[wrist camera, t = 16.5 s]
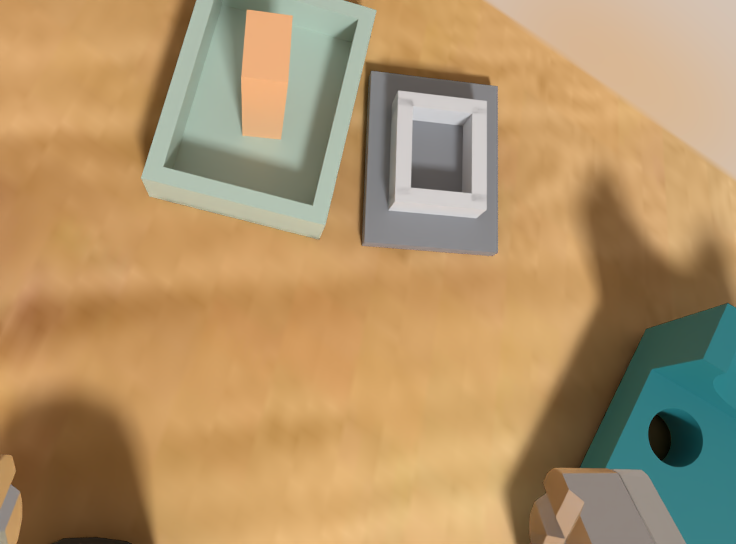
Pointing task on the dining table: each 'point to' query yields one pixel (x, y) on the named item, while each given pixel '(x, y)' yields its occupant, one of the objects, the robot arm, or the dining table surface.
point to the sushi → (90, 541)
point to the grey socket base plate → (431, 165)
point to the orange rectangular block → (265, 73)
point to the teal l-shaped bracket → (681, 422)
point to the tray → (224, 116)
